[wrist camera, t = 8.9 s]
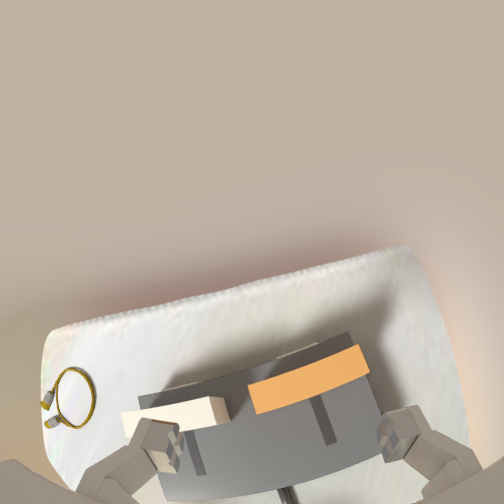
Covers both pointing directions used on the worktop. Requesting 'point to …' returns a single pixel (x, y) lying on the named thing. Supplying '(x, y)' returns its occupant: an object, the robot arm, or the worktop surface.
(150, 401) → the switch box
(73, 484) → the worktop surface
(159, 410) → the white switch
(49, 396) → the extension cord
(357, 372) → the orange switch
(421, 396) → the worktop surface
